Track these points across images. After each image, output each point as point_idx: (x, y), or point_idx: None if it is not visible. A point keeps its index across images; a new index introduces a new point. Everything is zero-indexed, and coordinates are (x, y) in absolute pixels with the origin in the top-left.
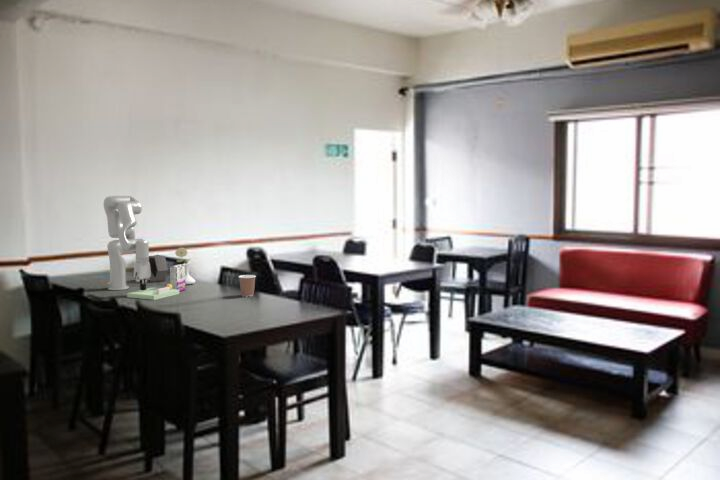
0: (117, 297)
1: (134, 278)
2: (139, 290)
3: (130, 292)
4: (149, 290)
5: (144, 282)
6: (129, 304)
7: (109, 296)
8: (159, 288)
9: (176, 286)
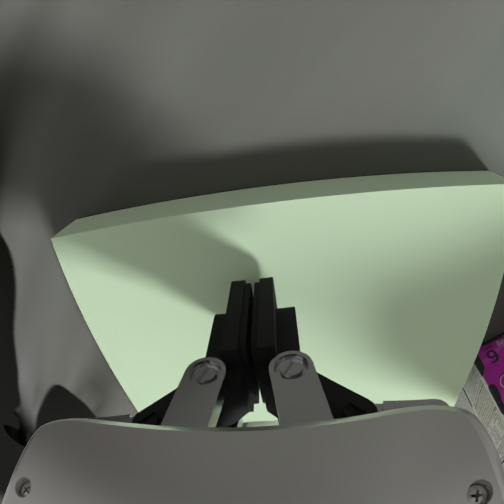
0: (19, 153)
1: (48, 433)
2: (265, 215)
3: (92, 243)
4: (335, 325)
5: (273, 414)
6: (37, 405)
7: (10, 42)
8: (478, 304)
9: (478, 418)
